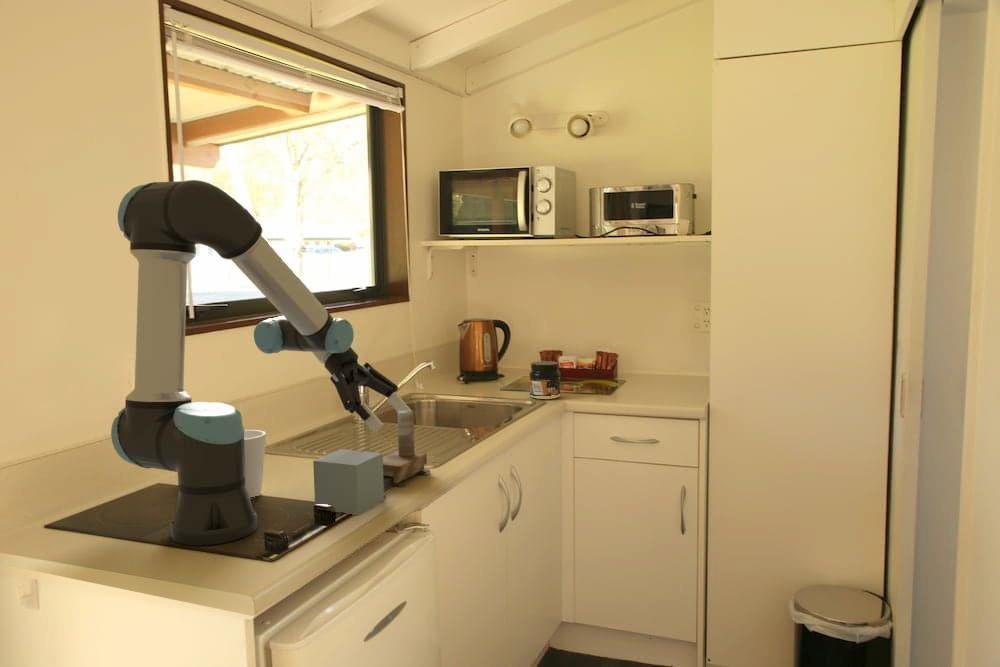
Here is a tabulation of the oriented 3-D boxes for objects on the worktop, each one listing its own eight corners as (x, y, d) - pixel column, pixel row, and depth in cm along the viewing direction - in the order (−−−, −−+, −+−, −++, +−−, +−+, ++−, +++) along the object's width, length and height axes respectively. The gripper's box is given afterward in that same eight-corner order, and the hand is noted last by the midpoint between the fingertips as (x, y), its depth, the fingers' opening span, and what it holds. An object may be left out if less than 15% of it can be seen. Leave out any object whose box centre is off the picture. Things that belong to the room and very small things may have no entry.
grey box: (344, 495, 171) (342, 448, 170) (385, 500, 167) (383, 452, 166) (315, 509, 162) (313, 460, 161) (357, 515, 158) (356, 465, 157)
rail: (380, 500, 167) (380, 490, 167) (347, 495, 170) (347, 486, 170) (429, 472, 187) (429, 464, 187) (399, 469, 190) (399, 461, 190)
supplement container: (533, 401, 272) (533, 365, 270) (526, 395, 282) (526, 361, 281) (564, 399, 274) (563, 364, 272) (556, 394, 284) (555, 360, 283)
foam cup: (245, 486, 179) (243, 428, 177) (277, 491, 174) (275, 432, 173) (212, 498, 170) (209, 437, 169) (245, 504, 166) (242, 441, 165)
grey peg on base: (400, 483, 176) (398, 421, 174) (372, 480, 178) (370, 418, 177) (426, 469, 187) (425, 410, 185) (400, 466, 189) (398, 408, 188)
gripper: (313, 351, 177) (375, 423, 173) (373, 337, 200) (429, 401, 196) (294, 374, 179) (355, 445, 175) (355, 358, 202) (410, 421, 198)
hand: (394, 422), depth 186 cm, fingers open, 13 cm apart
